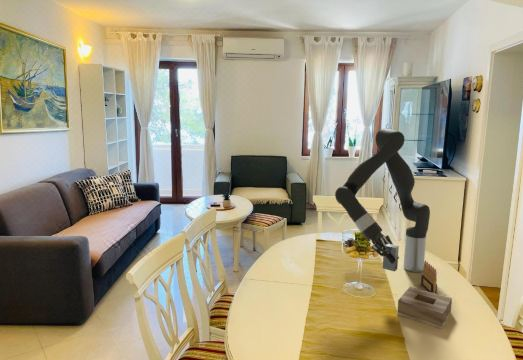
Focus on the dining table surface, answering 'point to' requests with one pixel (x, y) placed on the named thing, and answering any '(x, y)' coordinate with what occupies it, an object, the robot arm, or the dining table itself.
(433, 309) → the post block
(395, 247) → the gray rectangular block
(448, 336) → the dining table surface
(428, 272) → the ammunition clip
